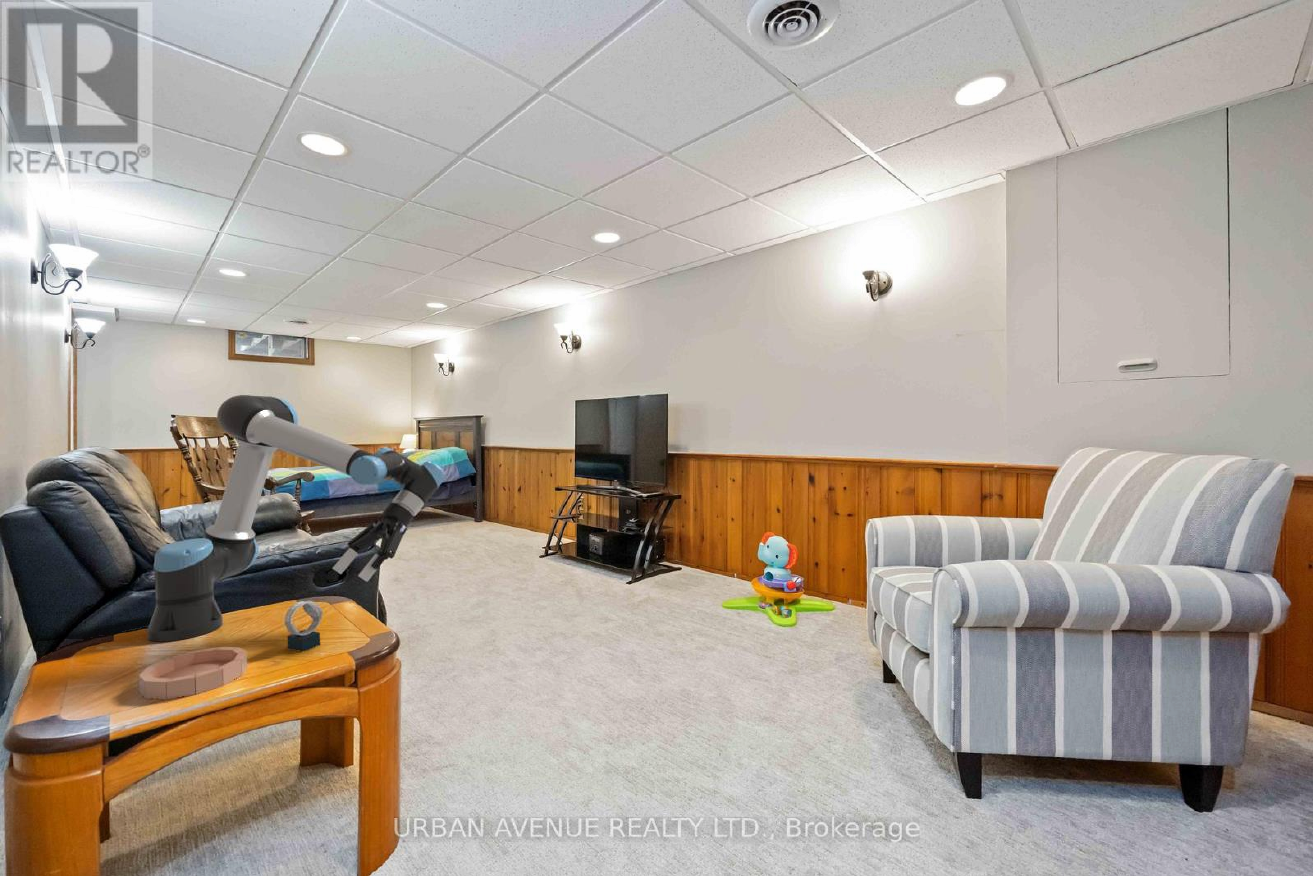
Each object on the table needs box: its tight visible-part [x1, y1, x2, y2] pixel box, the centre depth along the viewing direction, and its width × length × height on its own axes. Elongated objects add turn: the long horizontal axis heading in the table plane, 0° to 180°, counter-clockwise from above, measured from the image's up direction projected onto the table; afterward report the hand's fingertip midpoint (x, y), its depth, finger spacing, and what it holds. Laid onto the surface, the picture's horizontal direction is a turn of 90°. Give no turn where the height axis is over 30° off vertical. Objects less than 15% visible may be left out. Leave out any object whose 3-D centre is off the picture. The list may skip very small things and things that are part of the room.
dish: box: [138, 646, 248, 700], centre depth 117 cm, size 17×17×4 cm
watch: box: [284, 600, 324, 652], centre depth 134 cm, size 6×8×11 cm
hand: (349, 575), depth 143 cm, fingers open, 13 cm apart
